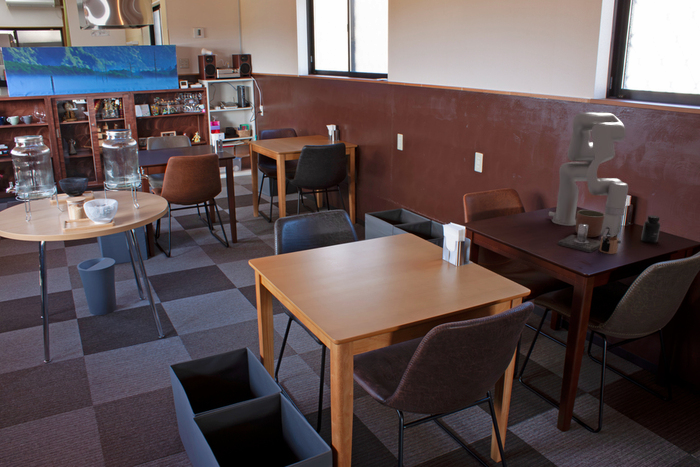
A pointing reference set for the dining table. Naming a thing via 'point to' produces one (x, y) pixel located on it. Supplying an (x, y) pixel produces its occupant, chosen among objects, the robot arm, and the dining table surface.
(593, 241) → the cylinder on square base
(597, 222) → the planter
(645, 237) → the supplement bottle
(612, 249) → the wooden mug
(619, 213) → the robot arm
